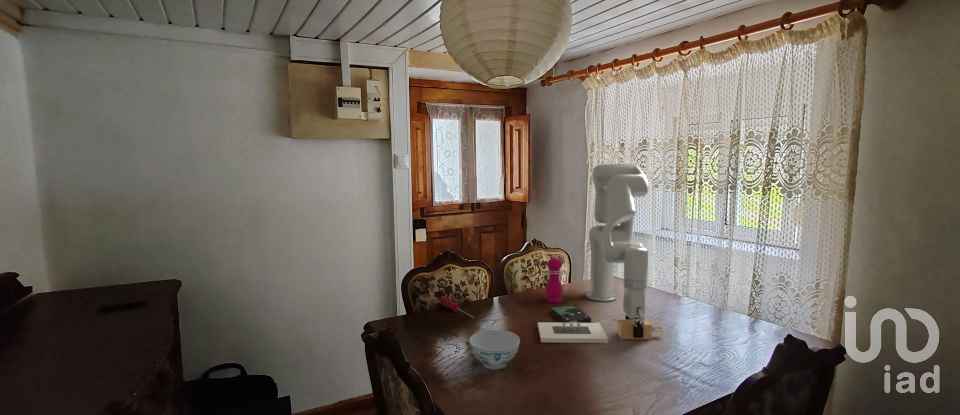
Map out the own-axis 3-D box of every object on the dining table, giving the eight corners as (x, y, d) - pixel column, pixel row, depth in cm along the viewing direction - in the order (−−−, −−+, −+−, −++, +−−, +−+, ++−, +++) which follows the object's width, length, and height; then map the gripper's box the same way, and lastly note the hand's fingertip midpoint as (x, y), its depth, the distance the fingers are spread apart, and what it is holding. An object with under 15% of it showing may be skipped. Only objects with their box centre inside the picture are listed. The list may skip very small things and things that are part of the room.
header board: (537, 326, 162) (537, 315, 162) (599, 326, 161) (599, 315, 161) (541, 342, 148) (541, 330, 148) (608, 343, 147) (608, 331, 147)
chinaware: (462, 358, 137) (461, 334, 136) (506, 349, 143) (505, 326, 142) (481, 380, 124) (481, 354, 123) (529, 369, 130) (529, 344, 129)
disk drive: (591, 325, 165) (573, 311, 179) (591, 317, 164) (574, 304, 179) (565, 328, 162) (549, 313, 176) (565, 320, 162) (549, 306, 176)
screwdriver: (470, 323, 166) (470, 314, 166) (439, 305, 187) (438, 296, 187) (478, 321, 168) (478, 312, 168) (446, 303, 189) (446, 295, 189)
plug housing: (617, 333, 155) (617, 319, 155) (659, 333, 155) (659, 319, 154) (620, 339, 150) (621, 324, 150) (664, 339, 150) (664, 325, 149)
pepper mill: (564, 303, 187) (564, 256, 185) (546, 303, 187) (547, 256, 185) (561, 298, 194) (561, 252, 192) (544, 298, 194) (544, 253, 192)
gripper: (617, 276, 159) (616, 322, 161) (631, 290, 142) (629, 342, 144) (639, 276, 159) (637, 322, 161) (655, 290, 142) (653, 342, 144)
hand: (633, 331), depth 152 cm, fingers open, 9 cm apart
